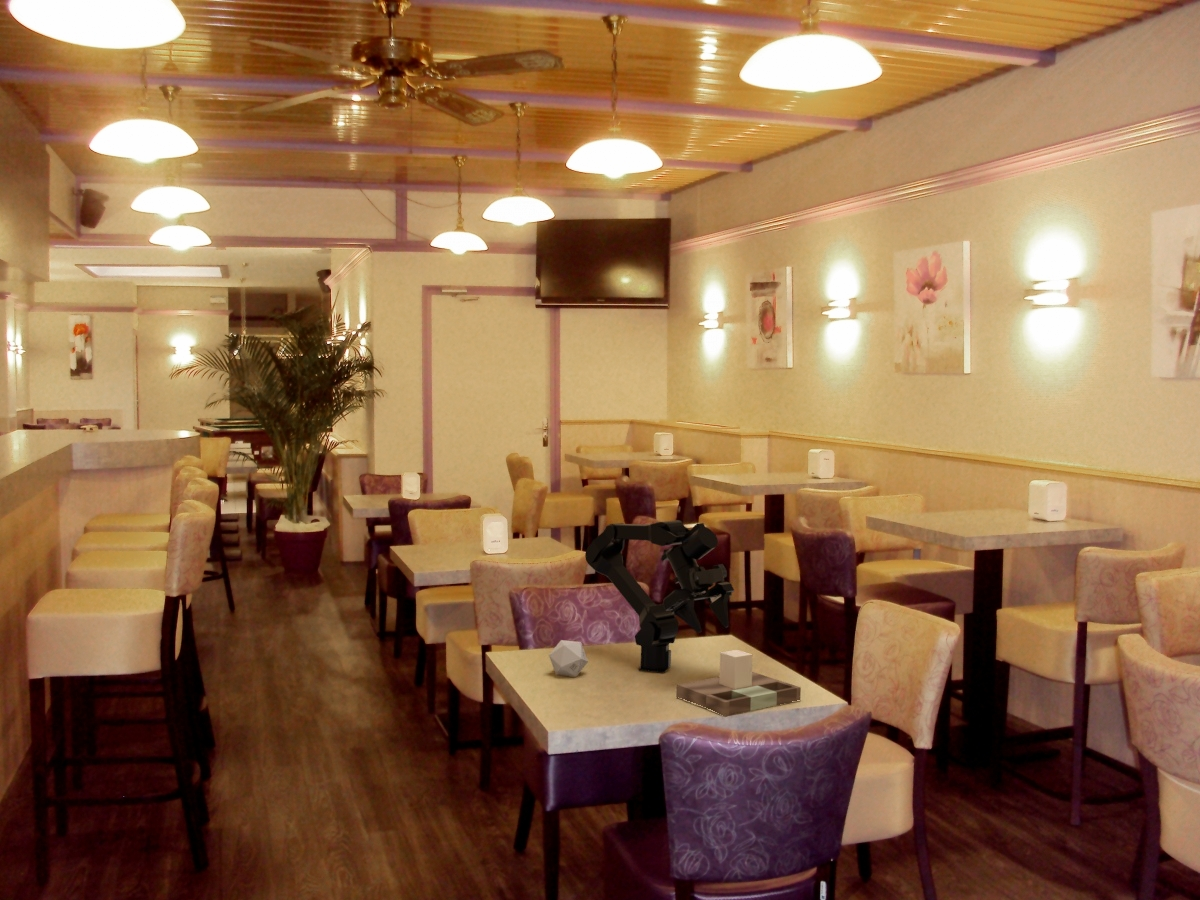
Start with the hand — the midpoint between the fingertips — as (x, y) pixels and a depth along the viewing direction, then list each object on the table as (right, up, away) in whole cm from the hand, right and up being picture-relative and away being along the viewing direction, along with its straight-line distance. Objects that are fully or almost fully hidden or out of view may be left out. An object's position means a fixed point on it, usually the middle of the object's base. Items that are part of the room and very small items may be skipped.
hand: (713, 629), depth 249 cm
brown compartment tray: (+4, -14, -10) cm, 17 cm away
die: (-34, -12, +9) cm, 37 cm away
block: (+4, -11, -9) cm, 15 cm away
